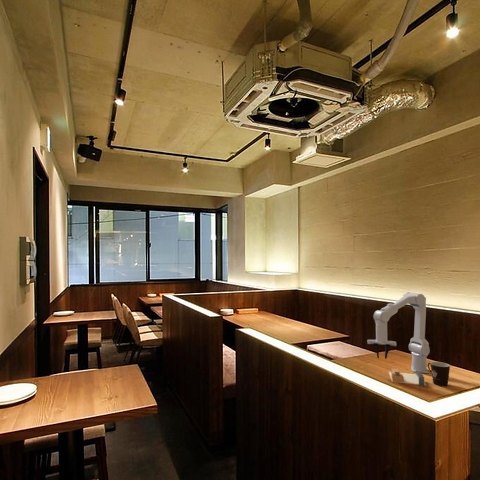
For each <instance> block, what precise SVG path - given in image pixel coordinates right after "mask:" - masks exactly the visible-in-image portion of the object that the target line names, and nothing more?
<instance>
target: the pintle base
mask: <svg viewBox="0 0 480 480" xmlns="http://www.w3.org/2000/svg"><path fill="white" fill-rule="evenodd" d="M395 373H396V376H399V374H402V375H403V377H404V382H398V381H393V380H392V376H391V371H388V374H389V377H390V380H391V382H392V383H400V384H409V385H416V386H417V385H418V386H419V382H418V377H417V375H416V373H405V372H400V371H399V372H395ZM424 386H427V383H426V382H425V381H424Z"/></svg>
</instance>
